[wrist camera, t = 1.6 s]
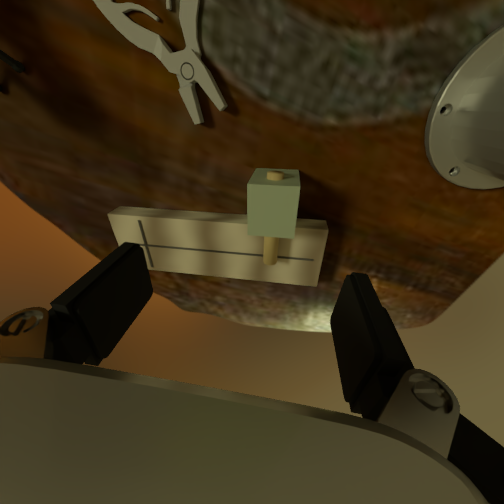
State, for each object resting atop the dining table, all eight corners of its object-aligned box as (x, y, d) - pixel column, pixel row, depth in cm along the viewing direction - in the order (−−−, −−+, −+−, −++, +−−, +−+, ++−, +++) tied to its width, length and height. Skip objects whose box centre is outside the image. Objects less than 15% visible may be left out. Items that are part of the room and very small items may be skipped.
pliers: (147, -195, 13) (256, 88, 20) (160, -168, 15) (258, 89, 21) (49, -63, 17) (169, 141, 23) (66, -51, 18) (176, 139, 25)
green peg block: (299, 164, 24) (301, 180, 19) (289, 246, 29) (289, 275, 24) (256, 163, 24) (247, 178, 19) (255, 243, 30) (247, 271, 25)
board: (325, 220, 27) (328, 230, 24) (314, 274, 31) (316, 287, 29) (120, 206, 30) (106, 214, 27) (136, 257, 34) (126, 267, 32)
